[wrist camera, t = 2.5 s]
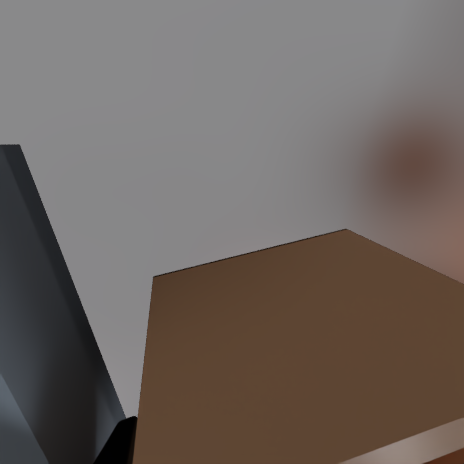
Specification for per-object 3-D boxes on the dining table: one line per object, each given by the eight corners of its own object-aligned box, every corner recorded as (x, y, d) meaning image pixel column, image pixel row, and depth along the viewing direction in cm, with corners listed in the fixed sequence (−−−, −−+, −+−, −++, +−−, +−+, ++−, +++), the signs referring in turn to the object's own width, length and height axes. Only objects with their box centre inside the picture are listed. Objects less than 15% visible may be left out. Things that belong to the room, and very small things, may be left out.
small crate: (345, 228, 9) (622, 358, 4) (354, 378, 11) (545, 617, 6) (153, 276, 8) (124, 541, 3) (197, 429, 10) (233, 774, 5)
